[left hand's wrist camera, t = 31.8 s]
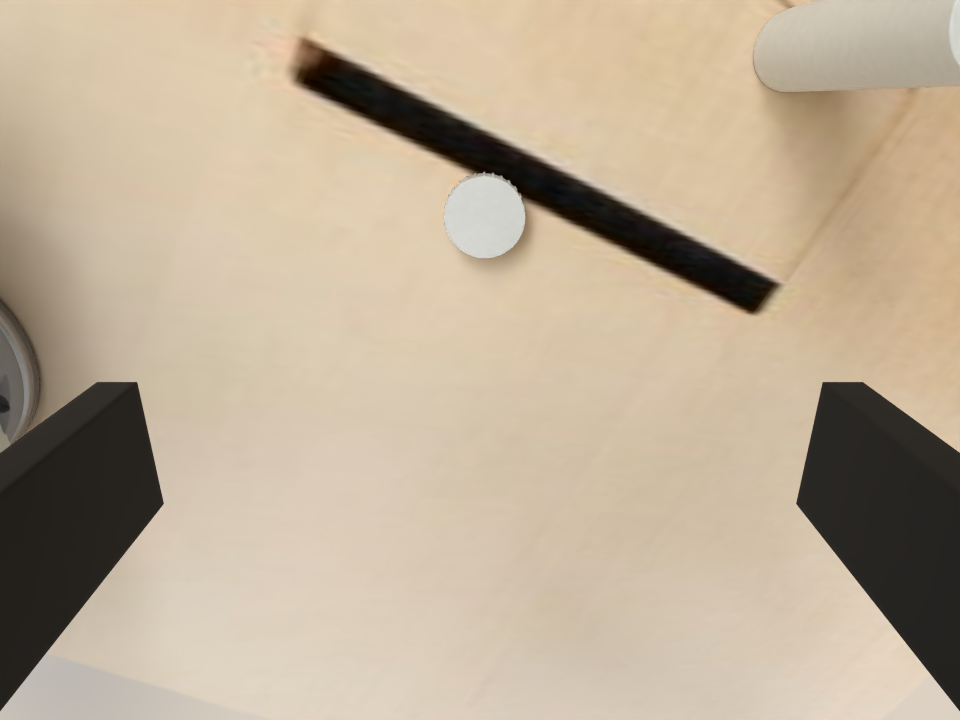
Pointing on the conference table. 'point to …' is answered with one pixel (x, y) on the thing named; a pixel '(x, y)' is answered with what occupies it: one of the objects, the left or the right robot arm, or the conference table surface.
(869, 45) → the white bottle
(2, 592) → the left robot arm
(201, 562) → the conference table surface
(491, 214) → the lid
